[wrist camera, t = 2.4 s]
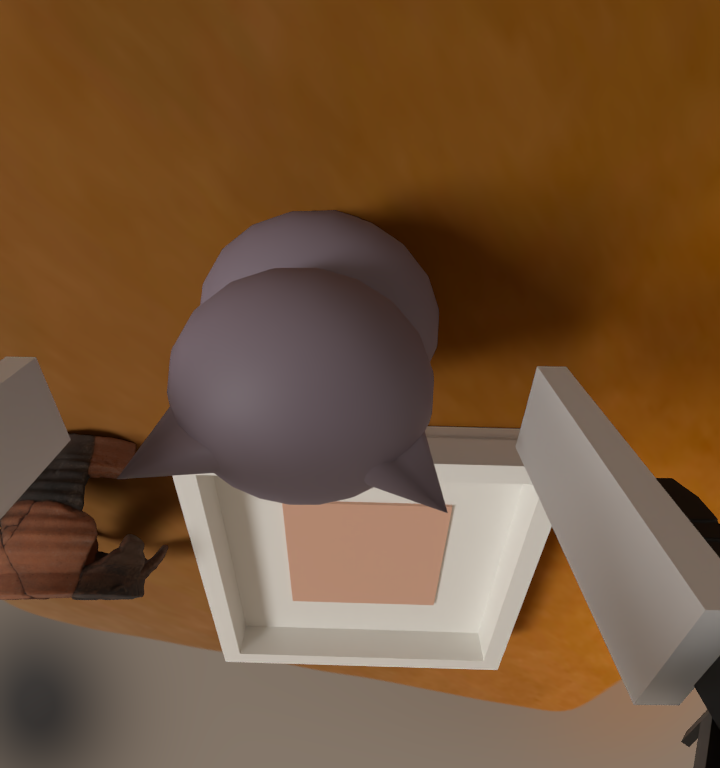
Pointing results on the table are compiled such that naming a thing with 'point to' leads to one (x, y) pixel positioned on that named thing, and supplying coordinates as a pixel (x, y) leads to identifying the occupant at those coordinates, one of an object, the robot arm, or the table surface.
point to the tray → (374, 564)
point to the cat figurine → (305, 368)
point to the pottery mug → (70, 532)
